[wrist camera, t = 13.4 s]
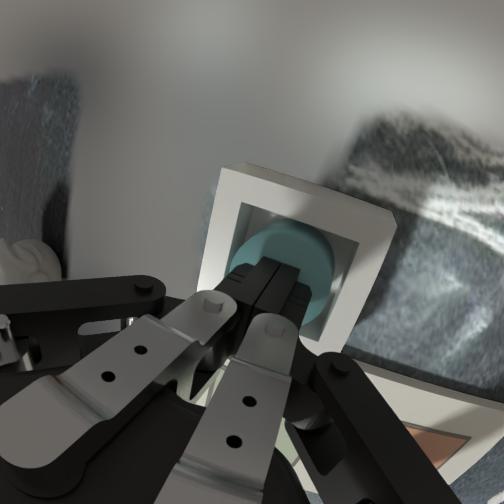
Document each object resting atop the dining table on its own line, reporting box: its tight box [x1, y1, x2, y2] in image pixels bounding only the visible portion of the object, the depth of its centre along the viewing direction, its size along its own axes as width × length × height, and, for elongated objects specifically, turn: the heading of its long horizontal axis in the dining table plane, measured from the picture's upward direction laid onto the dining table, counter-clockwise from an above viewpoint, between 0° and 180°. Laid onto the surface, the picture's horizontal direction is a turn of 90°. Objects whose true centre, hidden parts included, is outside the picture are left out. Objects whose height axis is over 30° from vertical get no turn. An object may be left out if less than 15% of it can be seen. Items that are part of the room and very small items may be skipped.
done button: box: [229, 219, 335, 326], centre depth 13 cm, size 4×4×2 cm
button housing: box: [197, 162, 397, 356], centre depth 14 cm, size 7×7×3 cm
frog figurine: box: [0, 238, 61, 285], centre depth 19 cm, size 6×7×7 cm
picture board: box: [196, 359, 504, 493], centre depth 18 cm, size 22×14×1 cm, turn 75°
